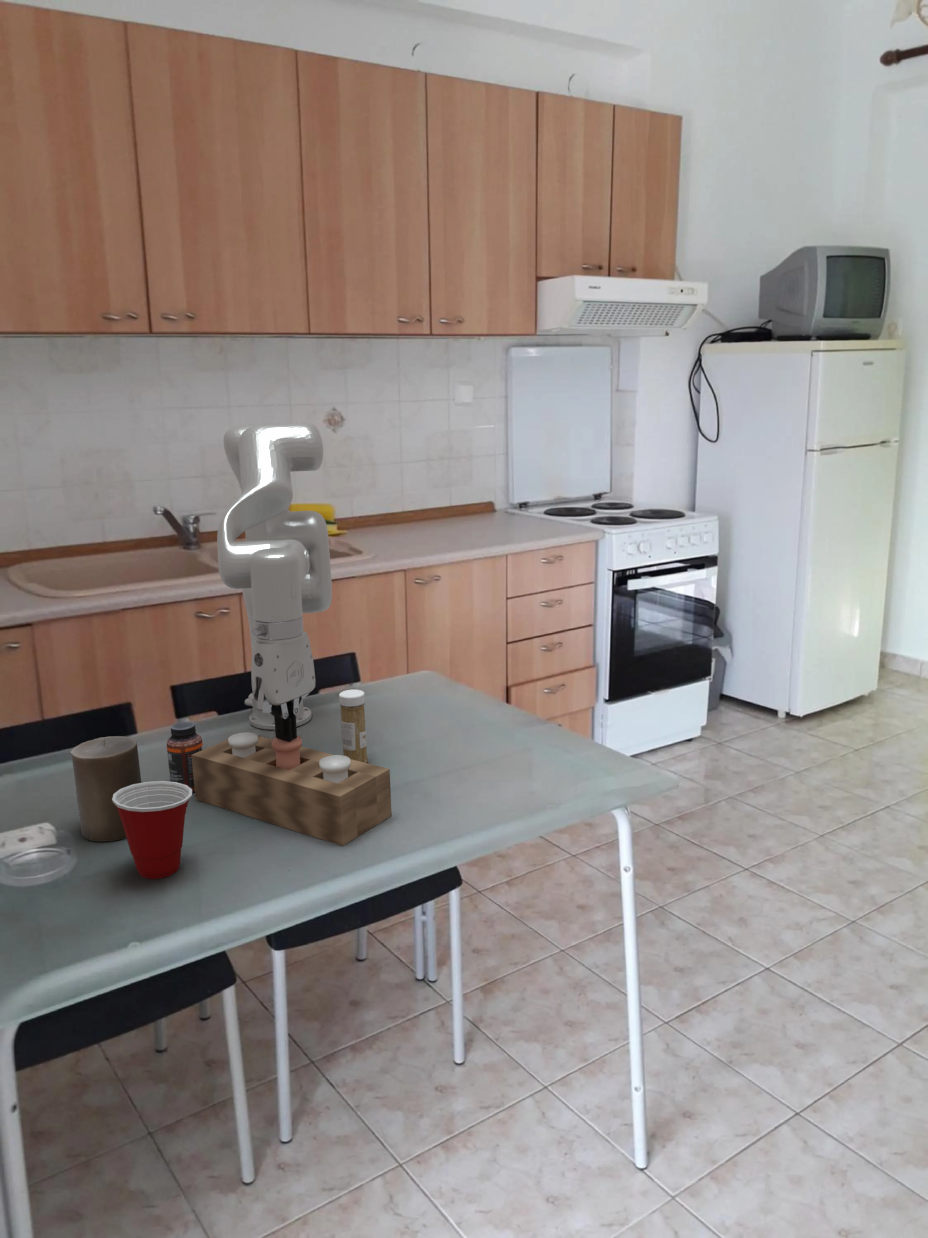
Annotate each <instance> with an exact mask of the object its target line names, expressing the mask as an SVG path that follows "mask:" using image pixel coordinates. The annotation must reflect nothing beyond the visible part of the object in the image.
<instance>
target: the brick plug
mask: <svg viewBox="0 0 928 1238" xmlns="http://www.w3.org/2000/svg"><path fill="white" fill-rule="evenodd" d="M302 738H303V737H301V736H300V735H297V738H296V739H292V741H289V742H288V741H285V740H281V739H277V738H276V736H275V737H274V738H272V741H271V742H272V749H273V750H275V753H276V767H279V768H283V769H287V770H290V769H292V768H294V767H296V766H298V765H300V752H299V748H300V747H303V739H302Z"/></svg>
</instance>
